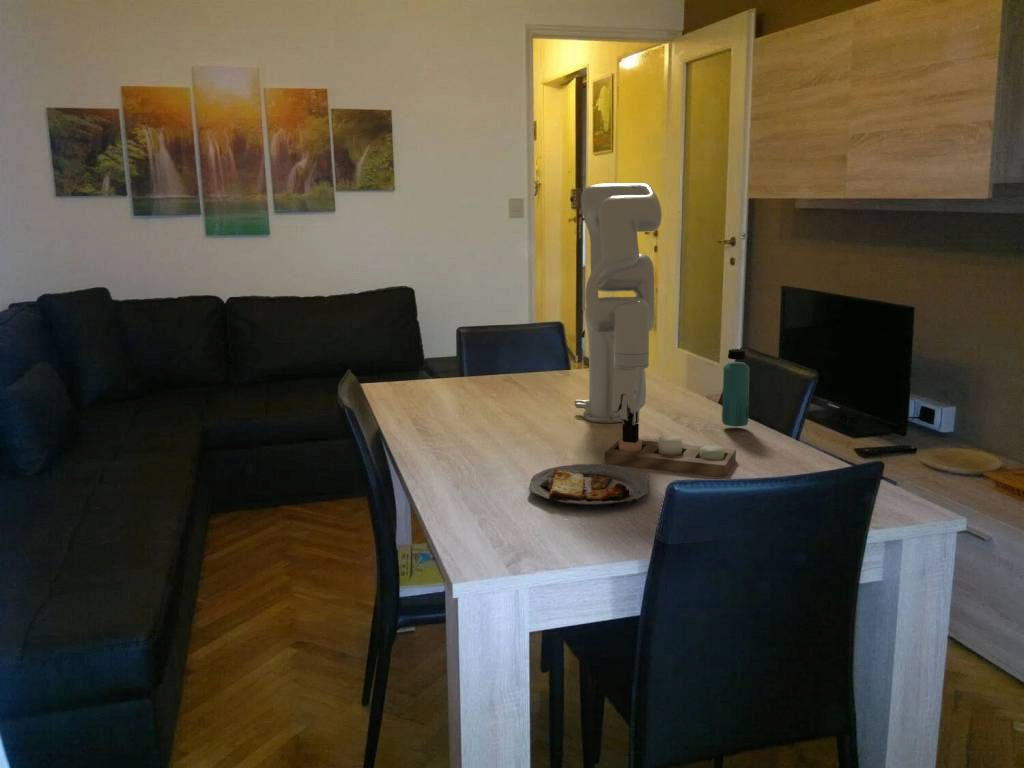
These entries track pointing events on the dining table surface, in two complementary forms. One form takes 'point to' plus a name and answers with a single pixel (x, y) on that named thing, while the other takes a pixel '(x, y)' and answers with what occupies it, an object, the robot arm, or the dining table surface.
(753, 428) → the dining table surface
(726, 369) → the beverage bottle
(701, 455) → the sage button
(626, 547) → the dining table surface
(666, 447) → the cream button
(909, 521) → the dining table surface
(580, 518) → the dining table surface
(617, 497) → the food plate
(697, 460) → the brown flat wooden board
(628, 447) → the terracotta button
